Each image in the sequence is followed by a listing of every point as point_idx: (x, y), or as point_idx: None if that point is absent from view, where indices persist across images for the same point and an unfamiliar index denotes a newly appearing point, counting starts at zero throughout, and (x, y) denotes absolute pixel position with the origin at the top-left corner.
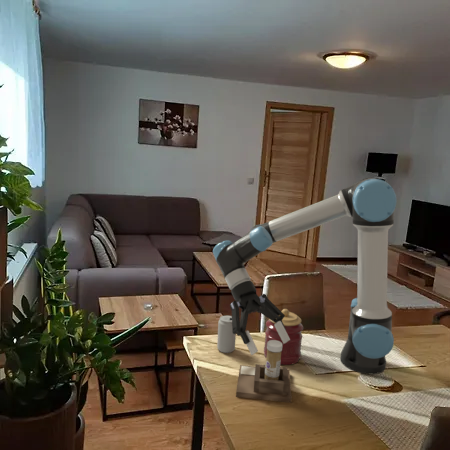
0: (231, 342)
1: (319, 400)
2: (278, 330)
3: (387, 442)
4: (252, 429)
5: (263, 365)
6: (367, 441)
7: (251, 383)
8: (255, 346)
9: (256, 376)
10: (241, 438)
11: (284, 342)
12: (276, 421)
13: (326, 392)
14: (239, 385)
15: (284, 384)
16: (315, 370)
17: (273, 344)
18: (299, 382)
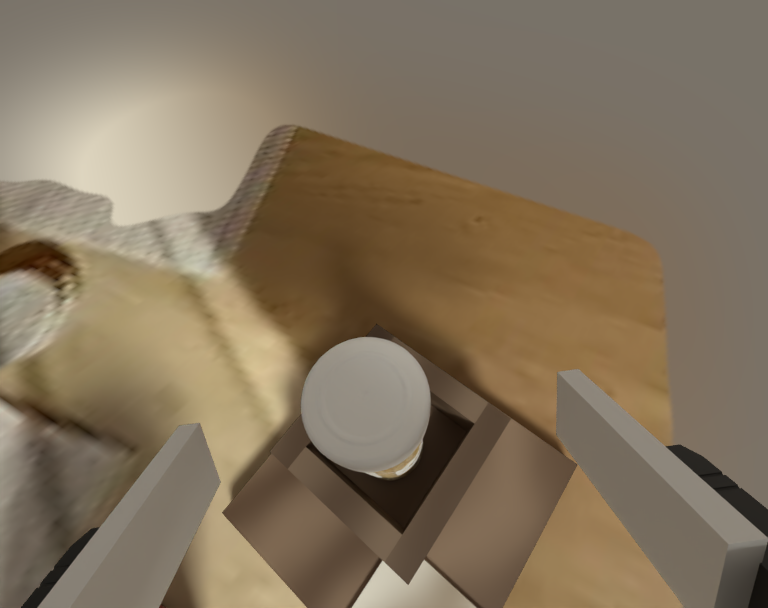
0: None
1: (284, 302)
2: (152, 587)
3: (288, 130)
4: (583, 276)
5: (372, 542)
6: (324, 144)
7: (472, 495)
8: (585, 393)
9: (479, 450)
10: (634, 258)
11: (214, 472)
12: (489, 276)
13: (222, 327)
14: (539, 508)
15: (391, 335)
16: (104, 478)
17: (394, 378)
18: (248, 428)
